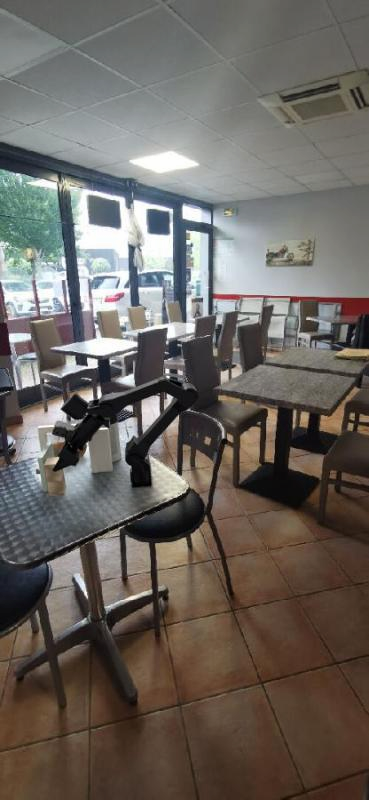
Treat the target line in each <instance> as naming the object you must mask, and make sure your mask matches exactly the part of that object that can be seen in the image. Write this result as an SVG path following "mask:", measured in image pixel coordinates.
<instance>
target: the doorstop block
mask: <svg viewBox="0 0 369 800" xmlns="http://www.w3.org/2000/svg"><path fill="white" fill-rule="evenodd" d="M58 459H59V457H52V458H47V460H46V462H45V464H44V468H45V474H46V480H47V485H48V491H47V492H48V497H53V496H54V497H55V496H64V495H65V493H66V492H65V491H66V489H67V485H66V484H67V482H66V477H65V470H64V469H65V468H64V469H62V470H59V471H57V472H54V471H53V468H54V466H55V464H56V463H57V461H58Z"/></svg>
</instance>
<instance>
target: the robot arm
mask: <svg viewBox="0 0 369 800" xmlns="http://www.w3.org/2000/svg"><path fill="white" fill-rule="evenodd" d="M161 393H165V394H167V395H169V396H171V397H172V398H171V401H170V403H169V404H168V406H167V407H166V408H165V409H164V410H163V411H162V412H161V413H160V414H159V415H158V417H157V418H156V419H155V420H154V421H153V422H152V423H151V425H149V426H148V428H147V429H146V430H145V431H144V433H142V435H139V436H138V437H137V436H135V435H133V436H131V438H130V439H129V441H127V442H126V443H125V448H124V460H125V463H126V465H128V466H130V467H131V468H130V469H129V478H130V483H131V488H146V487H147V488H149V487H151V488H152V487H153V475H152V473H153V472H152V463H151V462H150V461H151V460H150V459H151V458H150V454H149V451H150V449H151V447H152V445H154V443H155V442H156V441H157V440H158V438H160V437H161V436H162V434H163V433H164V432H165V431H166V430H167V429H168V428H169V427H170V426H171V424H172V423H173V422H174V421H175V420H176V419H177V418H178V416H179V415H181V414H182V413H184V412H186V411H189V409H191V408H192V407H193V406H195V405H196V404H197V403H198V401H199V395H200V394H199V393H198V391H197V389H196V387H195V386H194V384H192V383H190V382H181V381H178V380H175V379H173V378H172V379H171V378H168V377H167V376H159V377H158V378H156V379H154V380H151V381H148V382H145V383H143V384H140V385H138V386H135V387H133V388H131V389H128V390H125V391H121V392H112V393H111V392H110V393H107V394H103V395H102V396H100V397H99V398H96V399H91V400H89V401H87V400H85V399H84V398H83V397H81V395H80V394H78V393H77V392H74V393H73V394H72V395H71V396H70V397H68V398H67V399H66V400H65V402H64V403H63V404H62V406H61V407H60V410H61V411H62V412H63V413H64V414H66V415H67V416H69V418H71V419H72V420H74V421H79V420H80V422H77V423H75V424H76V425H75V426H73V425H71V424H72V423H68V422H65V421H62V420H56V421H55V423H54V425H55V426H54V429H53V432H52V433H51V434H52V435H53V436H55V437H59V438H64V440H65V443H64V445H63V446H62V447H61V449H60V450H59V452H58V457H59V459H58V461H57V463H56V464H55V466H54V468H53V471H54V472H57V471H59V470H62V469H66V468H70V467H76V466H77V465H78V464H79V462H80V461H81V458H80V453H79V452H78V451H77V450H78V449H79V450H81V451H82V450H83V449H84V446H85V445H86V444H88V441H91V440H92V437H93V436H94V435H95V433H96V432H97V431H98V430H99V429H100V428H101V427H102V426H103V425H104V426H105V427H107V428H110V417H112V416H114V415H116V414H117V415H118V414H119V413H121V412H122V411H123V410H124V409H125V408H127V407H129V406H130V405H133V404H135V403H138V402H141V401H144V400H146V399H149V398H151V397H153V396H155V395H156V396H157V395H158V394H161Z"/></svg>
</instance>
